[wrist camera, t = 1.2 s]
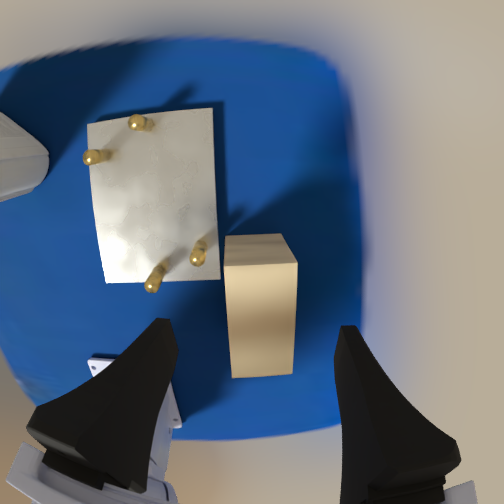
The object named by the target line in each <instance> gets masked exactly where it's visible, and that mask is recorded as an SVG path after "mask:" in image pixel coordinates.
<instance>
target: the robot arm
mask: <svg viewBox="0 0 504 504" xmlns="http://www.w3.org/2000/svg"><path fill="white" fill-rule="evenodd" d="M178 351H179V350H178V346H177V343H176V340H175V336H174V333H173V329H172V326H171V322H170V319H164V318H156V319H155V320H154V321H153V322H152V323H151V324H150V325H149V326H148V327H147V328H146V329H145V330H144V331H143V332H142V334H141V335H140V336H139V337H138V338H137V339H136V340H135V341H134V342H133V343H132V344H131V345H130V346H129V347H128V348H127V349H126V350H125V351H124V352H123V353H122V354H120V355H119V356H118V357H117V358H116V359H103V358H89V360H88V365H89V367H90V370H91V372H92V375H93V378H91V379H90V380H88V381H87V382H85V383H83V384H82V385H80V386H79V387H77V388H76V389H74V390H72V391H70V392H69V393H67V394H65V395H63V396H61V397H59V398H57V399H54V400H52V401H50V402H47V403H45V404H42V405H40V406H37V407H36V409H35V411H34V413H33V415H32V417H31V419H30V421H29V422H28V424H27V426H26V429H27V431H28V433H29V434H30V435H31V436H32V437H33V438H34V439H35V440H37V441H38V442H39V443H40V444H41V445H43V446H44V447H45V448H46V449H47V450H46V452H45V454H44V453H43V452H41V451H40V450H38V449H36V448H34V447H32V446H31V445H29V444H27V443H25V442H23V443H22V444H21V446H20V449H19V451H18V453H17V455H16V457H15V459H14V462H13V464H12V466H11V468H10V471H9V473H8V476H7V478H6V482H7V483H9V484H10V485H12V486H13V487H15V488H16V489H17V490H19V491H21V492H22V493H23V494H25V495H27V496H28V497H29V498H31V499H32V503H31V504H178V500H177V496H176V494H175V491H174V489H173V487H172V485H171V484H170V483H168V482H166V481H164V476H165V472H166V470H167V465H168V457H169V451H170V443H171V437H172V430H173V428H181V427H182V421H181V417H180V414H179V410H178V407H177V403H176V400H175V396H174V392H173V388H172V385H171V378H172V376H173V373H174V370H175V365H176V361H177V356H178ZM94 366H95V367H94ZM334 374H335V384H336V390H337V397H338V403H339V410H340V417H341V425H342V481H341V495H340V504H478V503H477V497H476V491H475V486H474V481H472V480H471V481H469V482H466V483H463V484H460V485H457V486H454V487H451V488H449V489H446V490H443V485H444V484H445V483H446V480H445V475H446V474H448V473H449V472H451V471H452V470H453V469H454V468H456V467H457V466H458V465H459V463H460V462H461V457H460V452H459V448H458V446H457V443H456V440H454V439H453V438H451V437H450V436H448V435H447V434H445V433H444V432H443V431H441V430H440V429H438V428H437V427H436V426H435V425H433V424H432V423H431V422H429V420H427V419H426V418H425V417H424V416H423V415H422V414H421V413H420V412H419V411H418V410H417V409H416V408H415V407H413V406H412V404H411V403H410V402H409V401H408V400H407V399H406V398H405V397H404V396H403V395H402V394H401V392H399V390H398V389H397V388H396V386H395V385H394V384H393V383H392V381H391V380H390V379H389V377H388V376H387V375H386V373H385V372H384V370H383V369H382V368H381V366H380V365H379V363H378V362H377V360H376V359H375V357H374V356H373V354H372V352H371V351H370V349H369V347H368V346H367V344H366V342H365V341H364V339H363V337H362V335H361V334H360V332H359V330H358V328H357V327H356V326H355V325H350V326H341V328H340V332H339V337H338V341H337V346H336V350H335V354H334Z"/></svg>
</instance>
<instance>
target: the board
mask: <svg viewBox="0 0 504 504" xmlns="http://www.w3.org/2000/svg"><path fill="white" fill-rule="evenodd" d="M297 269H298V262H297V261H296V259H295V257H294V255H293V254H292V252H291V250H290V248H289V247H288V245H287V243H286V242H285V240H284V238H283V236H282V235H281V233H280V234H256V235H233V236H225V253H224V277H225V292H226V307H227V320H228V333H229V346H230V358H231V369H232V378H244V377H260V376H273V375H285V374H292V369H293V354H294V337H295V318H296V297H297Z"/></svg>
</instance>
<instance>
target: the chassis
mask: <svg viewBox="0 0 504 504" xmlns="http://www.w3.org/2000/svg"><path fill="white" fill-rule="evenodd" d="M87 130H88V150H87V151H86V152H85V153H84V155H83V161H84V163H85V164H86V165H89V168H90V180H91V190H92V199H93V207H94V215H95V222H96V229H97V236H98V242H99V248H100V253H101V259H102V264H103V269H104V274H105V279H106V283H125V282H145V284H144V286H145V289H146V290H147V291H148V292H150V293H155V292H157V291H158V289H159V287H160V285H161V283H162V281H191V280H216V279H221V269H220V254H219V237H218V220H217V201H216V179H215V155H214V124H213V108H203V109H190V110H179V111H169V112H160V113H152V114H145V115H138V114H134V115H132V116H131V117H125V118H119V119H113V120H107V121H102V122H97V123H92V124H87Z"/></svg>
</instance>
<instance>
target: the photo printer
mask: <svg viewBox="0 0 504 504" xmlns="http://www.w3.org/2000/svg"><path fill="white" fill-rule="evenodd" d="M48 154H49V153H48V151H47V150H46V148H45V147H44V146H43V145H42V144H41V143H40V142H39V141H38V140H36V139H35V138H34V137H33V136H32V135H30V134H29V133H28V132H26V131H25V130H24V129H23V128H21V127H20V126H19V125H17V124H16V123H15V122H14V121H12V120H11V119H10V118H8V117H7V116H6V115H4V114H3V113H1V112H0V202H1V201H4V200H7V199H11V198H14V197H17V196H20V195H23V194H26V193H29V192H31V191H33V189H34V187H35V186H37V185H39V184H40V183H41V182H42V181H43V179H44V178H45V176H46V174H47V171H48V167H49V157H48Z"/></svg>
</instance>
